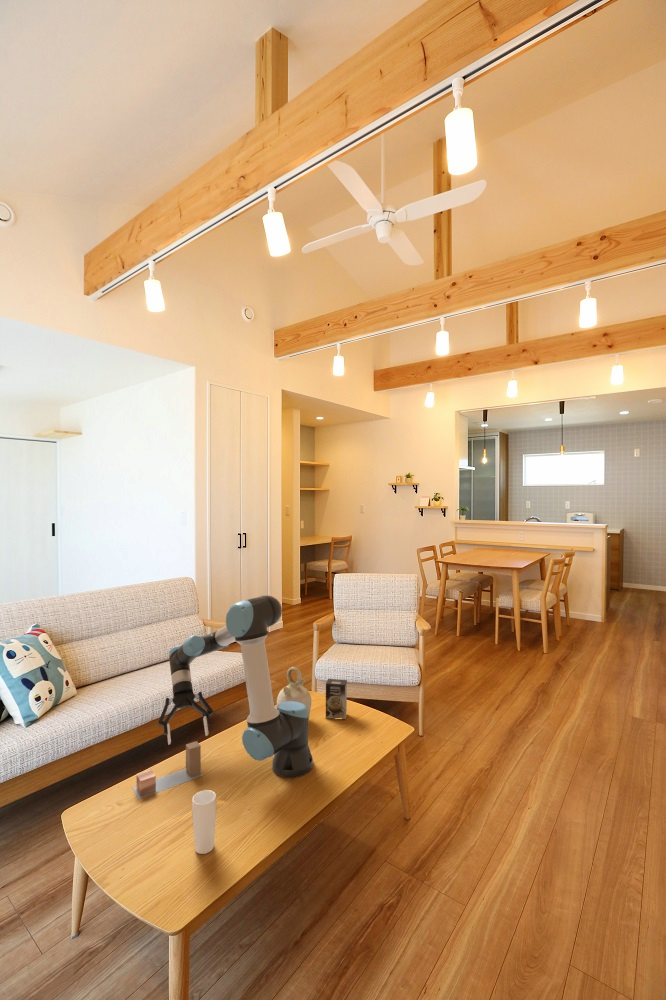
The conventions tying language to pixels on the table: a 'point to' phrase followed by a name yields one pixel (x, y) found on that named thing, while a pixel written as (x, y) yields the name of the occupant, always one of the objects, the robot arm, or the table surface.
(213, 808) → the drinking glass
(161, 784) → the strip
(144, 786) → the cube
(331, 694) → the coffee box
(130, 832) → the table surface
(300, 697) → the jug
